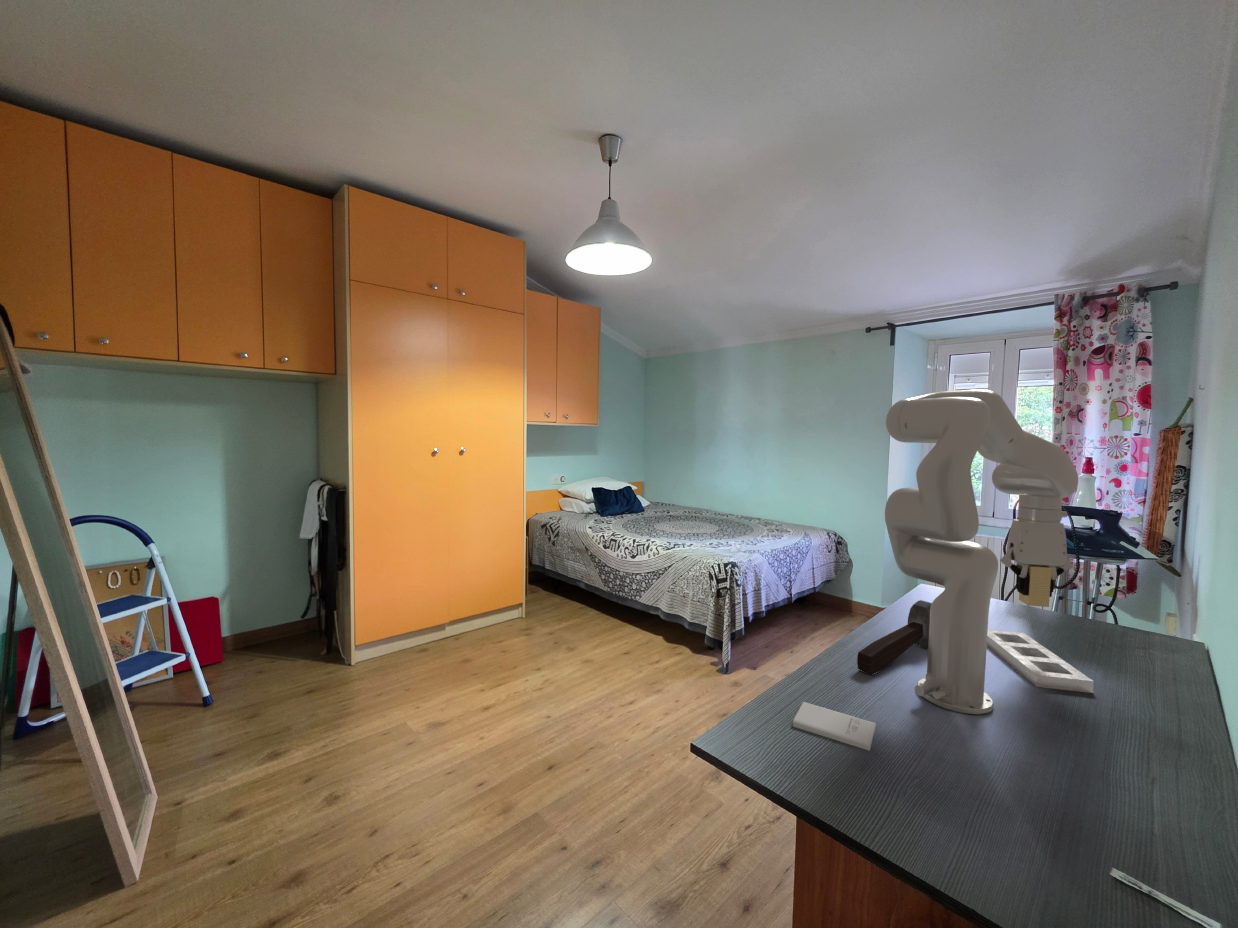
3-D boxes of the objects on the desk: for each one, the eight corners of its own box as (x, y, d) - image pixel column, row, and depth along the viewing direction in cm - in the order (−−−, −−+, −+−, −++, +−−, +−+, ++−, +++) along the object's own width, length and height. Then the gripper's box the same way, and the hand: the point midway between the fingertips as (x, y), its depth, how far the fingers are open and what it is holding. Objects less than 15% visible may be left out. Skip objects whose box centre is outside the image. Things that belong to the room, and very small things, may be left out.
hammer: (875, 694, 109) (940, 645, 125) (873, 645, 107) (939, 602, 124) (853, 684, 112) (919, 638, 129) (852, 637, 111) (918, 596, 128)
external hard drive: (803, 708, 96) (875, 730, 90) (792, 729, 90) (869, 754, 83) (803, 700, 96) (876, 721, 90) (792, 720, 90) (870, 744, 83)
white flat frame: (1093, 692, 103) (1094, 681, 103) (1036, 686, 105) (1037, 674, 105) (1023, 642, 128) (1023, 632, 128) (978, 638, 131) (979, 628, 130)
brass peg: (1048, 606, 114) (1051, 567, 113) (1028, 605, 115) (1030, 566, 114) (1038, 601, 118) (1040, 563, 117) (1018, 599, 119) (1021, 562, 118)
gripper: (1071, 514, 117) (1066, 592, 118) (989, 511, 120) (984, 586, 122) (1093, 520, 109) (1088, 602, 110) (1005, 516, 113) (1000, 596, 114)
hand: (1034, 593), depth 116 cm, fingers closed on brass peg, 4 cm apart
